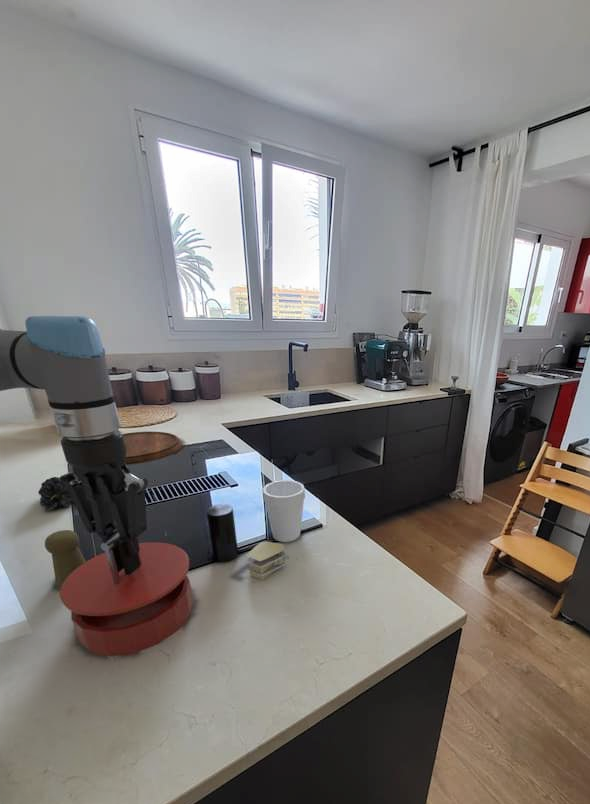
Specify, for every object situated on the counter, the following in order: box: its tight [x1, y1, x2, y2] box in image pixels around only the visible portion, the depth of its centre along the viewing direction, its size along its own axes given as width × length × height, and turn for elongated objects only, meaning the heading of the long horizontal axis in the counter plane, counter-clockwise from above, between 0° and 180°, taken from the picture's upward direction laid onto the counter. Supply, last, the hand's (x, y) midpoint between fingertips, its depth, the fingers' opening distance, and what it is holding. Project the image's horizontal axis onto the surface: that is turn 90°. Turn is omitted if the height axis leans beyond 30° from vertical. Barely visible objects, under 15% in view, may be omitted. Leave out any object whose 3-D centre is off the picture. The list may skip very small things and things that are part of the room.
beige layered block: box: [245, 541, 286, 581], centre depth 81 cm, size 10×9×6 cm
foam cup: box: [262, 479, 306, 543], centre depth 92 cm, size 10×9×13 cm
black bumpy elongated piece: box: [37, 476, 74, 511], centre depth 106 cm, size 9×8×15 cm
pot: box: [70, 574, 194, 657], centre depth 68 cm, size 18×18×6 cm
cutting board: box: [123, 431, 183, 465], centre depth 147 cm, size 32×32×2 cm
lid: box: [59, 532, 190, 616], centre depth 64 cm, size 19×19×9 cm
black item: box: [206, 503, 239, 563], centre depth 84 cm, size 5×5×12 cm
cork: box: [44, 529, 87, 589], centre depth 76 cm, size 6×6×11 cm
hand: (127, 568), depth 65 cm, fingers closed on lid, 1 cm apart
